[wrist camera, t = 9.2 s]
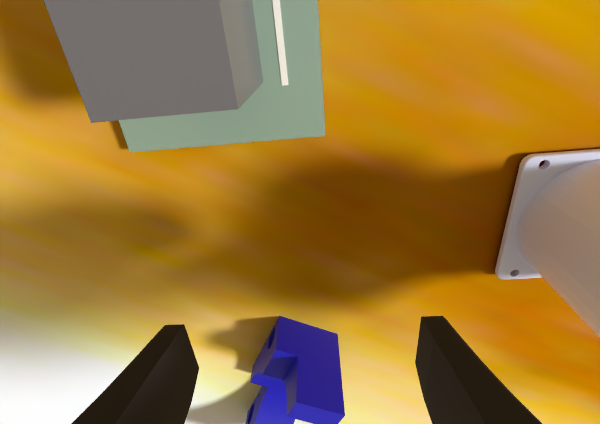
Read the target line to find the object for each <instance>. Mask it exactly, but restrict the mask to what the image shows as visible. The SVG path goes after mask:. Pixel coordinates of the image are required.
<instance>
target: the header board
mask: <svg viewBox="0 0 600 424" xmlns="http://www.w3.org/2000/svg"><path fill="white" fill-rule="evenodd" d="M252 3H253V11H254V18H255V25H256V33H257V40H258V47H259V55H260V62H261V69H262V76H263V83H262V84H261V85H260V86H259V87H258V89H257V90H256V91H255V92H254V93H253V94H252V95H251V96H250V97H249V98H248V99H247V100H246V101H245V103H244V104H243V105H242V106H241V107H240V108H239V109H236V110H225V111H215V112H204V113H193V114H182V115H171V116H160V117H149V118H138V119H127V120H119V123H120V126H121V129H122V131H123V134H124V137H125V140H126V143H127V146H128V149H129V151H130V152H140V151H152V150H164V149H176V148H188V147H199V146H211V145H223V144H235V143H247V142H259V141H270V140H282V139H294V138H306V137H318V136H325V119H324V102H323V84H322V67H321V50H320V32H319V15H318V0H252Z"/></svg>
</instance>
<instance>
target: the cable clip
mask: <svg viewBox="0 0 600 424" xmlns="http://www.w3.org/2000/svg"><path fill="white" fill-rule="evenodd" d="M250 382H251V383H255V384H258V385H262V388H261V390H260V392H259V393H258V395H257V397H256V399H255V400H254V402H253V404H252V406H251V407H250V409H249V411H248V414H247V420H246V424H294V421H295V419H298V420H302V421H306V422H309V423H313V424H338V423H339V422H340V421H341V419H342V418H343V417H344V416H345V412H344V401H343V390H342V379H341V368H340V357H339V346H338V335H337V334H336V333H332V332H329V331H326V330H323V329H320V328H316V327H313V326H310V325H307V324H304V323H300V322H297V321H294V320H291V319H288V318H284V317H281V316H279V318H278V320H277V321H276V323H275V325H274V327H273V329H272V331H271V333H270V335H269V337H268V339H267V341H266V343H265V344H264V346H263V348H262V350H261V352H260V354H259V356H258V358H257V360H256V362H255V364H254V366H253V369H252V375H251V381H250Z"/></svg>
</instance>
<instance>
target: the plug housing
mask: <svg viewBox="0 0 600 424" xmlns="http://www.w3.org/2000/svg"><path fill="white" fill-rule="evenodd" d="M44 3H45V6H46V8H47V11H48V13H49V16H50V18H51V21H52V23H53V26H54V29H55V31H56V34H57V36H58V39H59V41H60V44H61V46H62V49H63V52H64V54H65V57H66V59H67V62H68V64H69V67H70V70H71V72H72V75H73V77H74V80H75V82H76V85H77V87H78V90H79V93H80V95H81V98H82V100H83V103H84V105H85V108H86V110H87V113H88V116H89V118H90V121H91V123H94V122H105V121H116V120H127V119H138V118H149V117H160V116H171V115H182V114H193V113H204V112H215V111H225V110H236V109H239V108H240V107H241V106H242V105H243V104H244V103H245V101H246V100H247V99H248V98H249V97H250V96H251V95H252V94H253V93H254V92H255V91H256V90H257V89H258V87H259V86H260V85H261V84H262V83H263V76H262V69H261V62H260V55H259V47H258V40H257V33H256V25H255V18H254V11H253V3H252V0H44Z"/></svg>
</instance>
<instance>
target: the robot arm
mask: <svg viewBox="0 0 600 424" xmlns="http://www.w3.org/2000/svg"><path fill="white" fill-rule="evenodd" d="M543 160H545V163H544V164H543V165H542V166H540V167H539V164H540V162H542V161H543ZM513 270H515V271H513ZM511 271H513V272H511ZM495 274H496V275H497V276H498V278H500V279H523V278H542V277H543V279H544V280H545V281H546V282H547V283H548V284H549V285H550V286H551V287H552V288H553V289H554V290H555V291H556V292H557V293H558V294H559V295H560V297H561V298H562V299H563V300H564V301H565V302H566V303H567V304H568V305H569V306H570V307H571V308H572V309H573V310H574V311H575V312H576V313H577V315H578V316H579V317H580V318H581V319H582V320H583V321H584V322H585V323H586V324H587V325H588V326H589V327H590V328H591V329H592V330H593V331H594V333H595V334H596V335H597V336H598V337H599V338H600V149H591V150H578V151H565V152H552V153H539V154H530V155H527V156H526V157H524V158H523V159H522V161H521V163H520V166H519V170H518V175H517V179H516V183H515V187H514V192H513V196H512V200H511V204H510V209H509V213H508V217H507V221H506V226H505V230H504V234H503V238H502V243H501V247H500V251H499V255H498V260H497V264H496V268H495ZM415 363H416V368H417V372H418V376H419V381H420V385H421V389H422V393H423V397H424V401H425V403H426V406H427V409H428V412H429V415H430V418H431V421H432V424H542V423H541V422H540V421H539V420H538V419H537V418H536V417H535V416H534V415H533V414H532V413H531V412H530V411H529V410H528V409H527V408H526V407H525V406H524V405H523V404H522V403H521V402H520V401H519V400H518V399H517V398H516V397H515V396H514V395H513V394H512V393H511V392H510V391H509V390H508V389H507V388H506V387H505V386H504V384H503V383H502V382H501V381H500V380H499V379H498V378H497V377H496V376H495V375H494V374H493V373H492V372H491V371H490V369H489V368H488V367H487V366H486V365H485V364H484V363H483V362H482V361H481V360H480V358H479V357H478V356H477V355H476V354H475V353H474V352H473V350H472V349H471V348H470V347H469V346H468V345H467V344H466V342H465V341H464V340H463V339H462V338H461V336H460V335H459V334H458V333H457V332H456V331H455V329H454V328H453V327H452V326H451V325H450V323H449V322H448V321H447V320H446V319H445V318H444V317H443V316H429V317H421V324H420V331H419V339H418V346H417V354H416V362H415ZM198 370H199V366H198V364H197V361H196V358H195V355H194V352H193V349H192V346H191V343H190V340H189V337H188V334H187V331H186V329H185V326H184V325H165V326H164V327H163V328H162V329H161V330H160V331H159V332H158V333H157V334H156V335H155V337H154V338H153V339H152V340H151V341H150V342H149V343H148V344H147V345H146V346H145V347H144V349H143V350H142V351H141V352H140V353H139V354H138V355H137V356H136V357H135V358H134V360H133V361H132V362H131V363H130V364H129V365H128V366H127V367H126V368H125V369H124V370H123V371H122V373H121V374H120V375H119V376H118V377H117V378H116V379H115V380H114V381H113V382H112V383H111V384H110V385H109V386H108V387H107V388H106V390H105V391H104V392H103V393H102V394H101V395H100V396H99V397H98V398H97V399H96V400H95V401H94V402H93V403H92V404H91V405H90V406H89V407H88V408H87V409H86V410H85V411H84V412H83V413H82V414H81V415H80V416H79V417H78V418H77V419H76V420H75V421H74V422H73V423H72V424H184V423H185V420H186V417H187V414H188V411H189V408H190V405H191V401H192V397H193V393H194V389H195V384H196V380H197V375H198Z"/></svg>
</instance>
